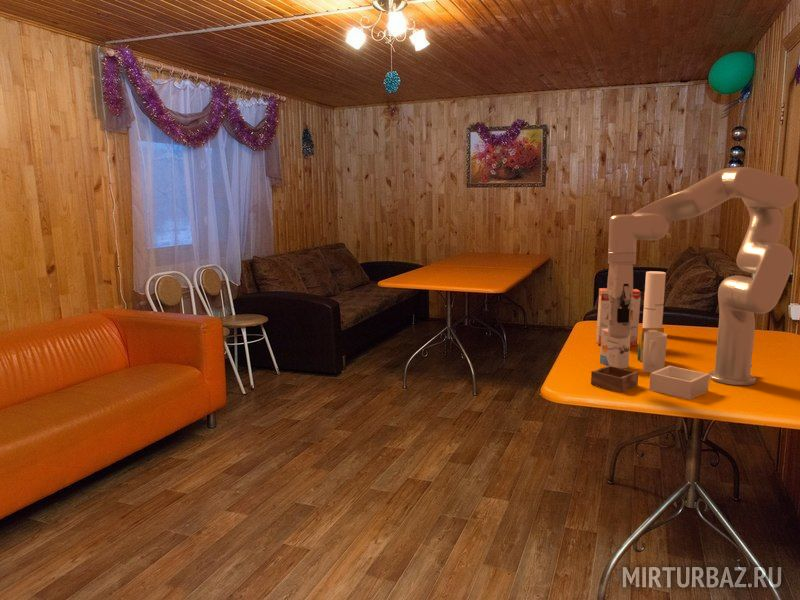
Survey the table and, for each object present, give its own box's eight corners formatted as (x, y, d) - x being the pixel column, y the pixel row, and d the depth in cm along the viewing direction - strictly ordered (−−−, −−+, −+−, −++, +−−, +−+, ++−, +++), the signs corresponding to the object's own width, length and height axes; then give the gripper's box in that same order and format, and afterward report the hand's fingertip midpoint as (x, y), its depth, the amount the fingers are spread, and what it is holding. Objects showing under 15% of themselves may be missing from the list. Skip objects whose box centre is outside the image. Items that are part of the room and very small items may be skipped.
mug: (644, 366, 200) (647, 330, 198) (666, 369, 196) (669, 333, 194) (637, 374, 192) (639, 336, 190) (659, 377, 188) (662, 339, 186)
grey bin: (668, 381, 184) (669, 365, 183) (708, 390, 175) (709, 374, 174) (649, 389, 176) (650, 373, 175) (689, 399, 168) (691, 382, 167)
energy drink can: (627, 339, 175) (629, 288, 172) (606, 337, 177) (607, 286, 175) (631, 335, 180) (633, 284, 177) (610, 333, 183) (611, 283, 180)
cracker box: (598, 345, 227) (601, 290, 223) (595, 341, 233) (598, 287, 229) (637, 347, 225) (641, 290, 221) (634, 343, 231) (637, 288, 227)
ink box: (598, 363, 204) (601, 319, 202) (610, 361, 206) (612, 318, 204) (617, 369, 197) (620, 324, 194) (629, 367, 199) (632, 323, 196)
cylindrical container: (664, 336, 240) (668, 273, 236) (646, 336, 241) (650, 273, 236) (657, 332, 248) (661, 271, 243) (639, 332, 248) (643, 271, 243)
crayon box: (658, 359, 208) (660, 326, 206) (662, 361, 205) (664, 328, 203) (636, 359, 208) (639, 326, 206) (640, 361, 205) (642, 328, 203)
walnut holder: (608, 377, 188) (608, 365, 187) (637, 385, 181) (638, 372, 180) (590, 384, 181) (591, 371, 181) (620, 392, 174) (621, 378, 174)
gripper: (600, 255, 183) (598, 314, 186) (616, 262, 166) (614, 326, 169) (626, 254, 183) (624, 313, 186) (645, 261, 166) (642, 326, 169)
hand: (619, 319), depth 178 cm, fingers closed on energy drink can, 6 cm apart
